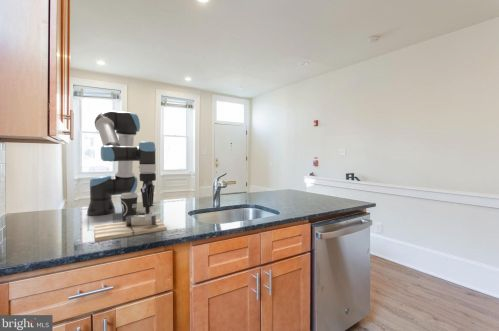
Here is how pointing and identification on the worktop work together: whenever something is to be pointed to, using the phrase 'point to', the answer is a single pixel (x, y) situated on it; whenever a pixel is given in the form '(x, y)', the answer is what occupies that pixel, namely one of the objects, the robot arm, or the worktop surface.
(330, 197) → the worktop surface
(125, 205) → the coffee cup
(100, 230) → the wooden pallet
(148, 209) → the robot arm
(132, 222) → the lock bar
